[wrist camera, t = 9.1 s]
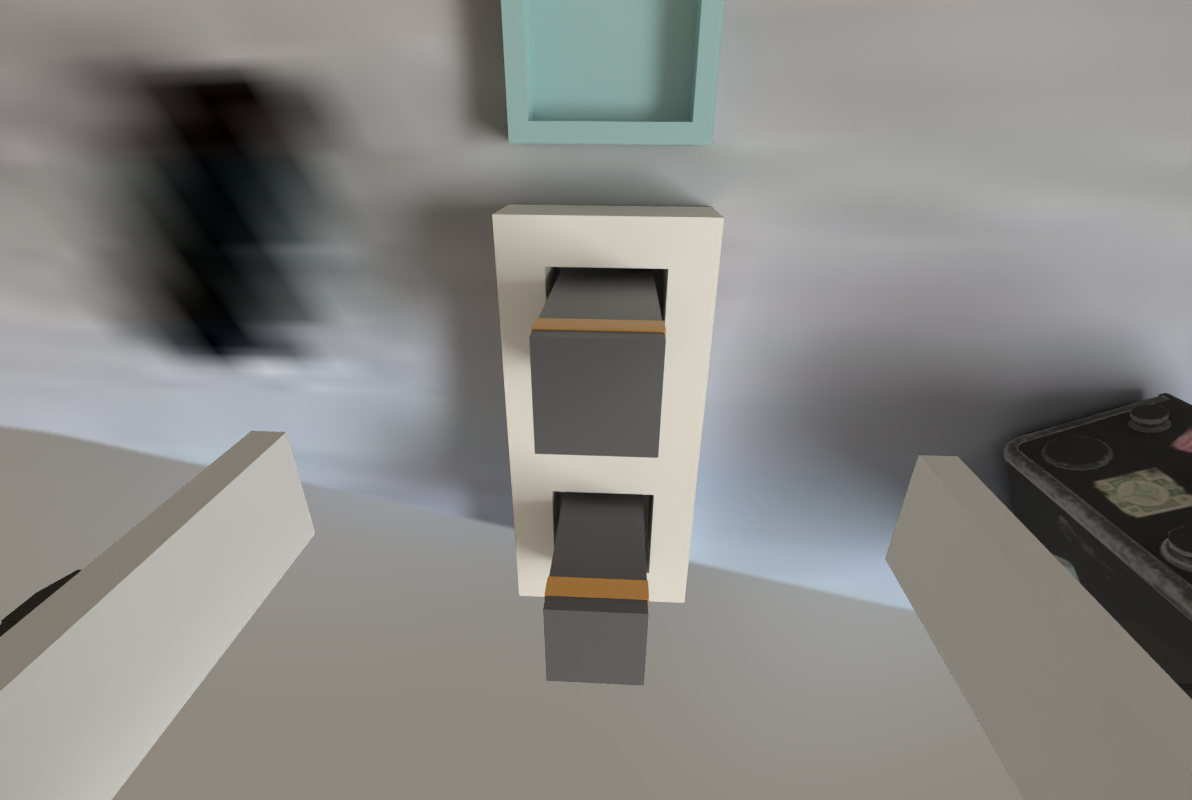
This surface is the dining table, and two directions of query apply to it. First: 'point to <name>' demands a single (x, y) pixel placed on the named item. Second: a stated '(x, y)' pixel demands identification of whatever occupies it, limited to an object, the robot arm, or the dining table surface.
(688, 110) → the tray
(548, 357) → the plug
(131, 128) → the dining table surface
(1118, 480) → the camera
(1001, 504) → the robot arm
